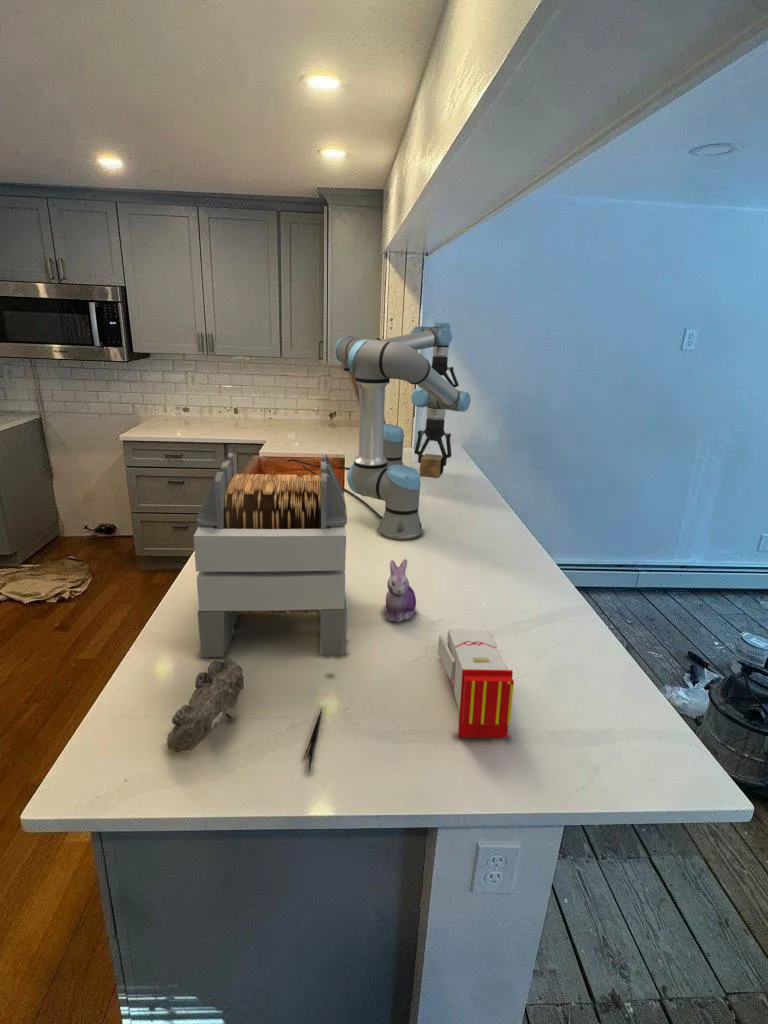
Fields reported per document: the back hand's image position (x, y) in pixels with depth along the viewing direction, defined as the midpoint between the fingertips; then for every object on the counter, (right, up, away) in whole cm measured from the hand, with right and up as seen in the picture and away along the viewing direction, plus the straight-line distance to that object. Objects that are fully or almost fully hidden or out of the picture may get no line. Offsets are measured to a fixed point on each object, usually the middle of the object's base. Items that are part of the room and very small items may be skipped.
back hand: (437, 399), depth 285 cm
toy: (-9, -94, -166) cm, 191 cm away
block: (-7, -41, -45) cm, 61 cm away
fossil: (-59, -96, -177) cm, 209 cm away
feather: (-39, -96, -176) cm, 204 cm away
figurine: (-23, -83, -137) cm, 162 cm away
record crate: (-53, -83, -142) cm, 173 cm away
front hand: (-7, -39, -45) cm, 60 cm away
